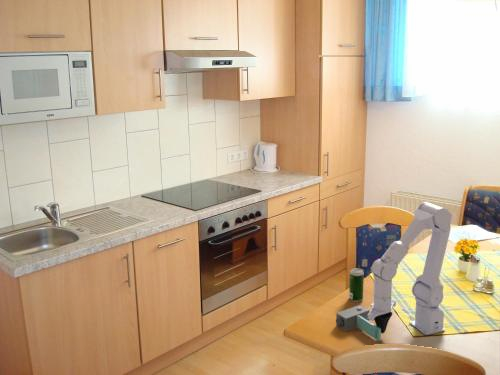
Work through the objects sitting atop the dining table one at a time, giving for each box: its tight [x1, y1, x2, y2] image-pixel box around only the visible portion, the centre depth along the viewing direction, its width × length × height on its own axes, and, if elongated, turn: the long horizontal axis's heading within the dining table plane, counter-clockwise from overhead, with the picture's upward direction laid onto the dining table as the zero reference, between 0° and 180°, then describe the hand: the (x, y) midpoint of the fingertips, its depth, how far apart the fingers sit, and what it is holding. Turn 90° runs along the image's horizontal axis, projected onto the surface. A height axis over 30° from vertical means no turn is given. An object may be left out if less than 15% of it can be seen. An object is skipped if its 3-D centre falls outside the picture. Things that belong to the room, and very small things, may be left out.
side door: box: [357, 315, 382, 342], centre depth 184 cm, size 12×1×4 cm, turn 28°
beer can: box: [348, 267, 365, 303], centre depth 210 cm, size 5×5×12 cm
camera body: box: [335, 304, 370, 332], centre depth 191 cm, size 12×5×6 cm, turn 122°
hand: (381, 331), depth 183 cm, fingers closed
